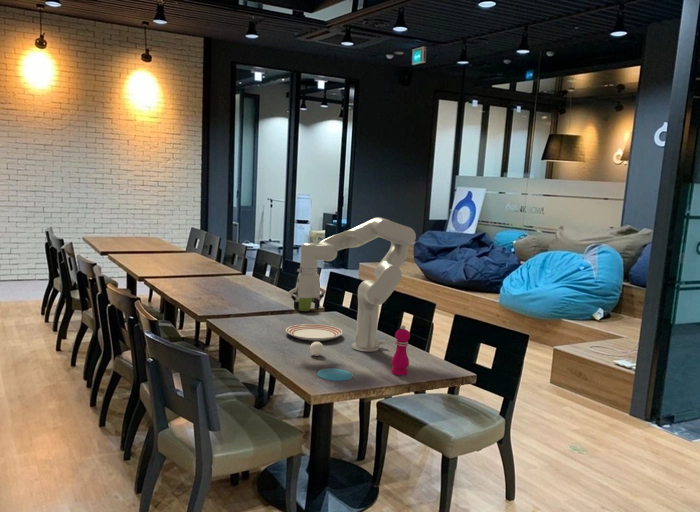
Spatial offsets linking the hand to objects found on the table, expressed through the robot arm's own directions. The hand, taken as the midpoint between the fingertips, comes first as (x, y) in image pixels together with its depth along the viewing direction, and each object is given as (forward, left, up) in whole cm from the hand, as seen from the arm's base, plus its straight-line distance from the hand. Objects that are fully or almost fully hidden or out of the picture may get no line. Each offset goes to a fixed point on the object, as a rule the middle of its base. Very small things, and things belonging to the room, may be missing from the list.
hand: (306, 309), depth 266 cm
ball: (-3, +9, -15) cm, 18 cm away
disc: (-3, +34, -18) cm, 39 cm away
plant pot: (-21, -74, -18) cm, 79 cm away
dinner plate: (-11, -21, -19) cm, 30 cm away
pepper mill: (-30, +36, -18) cm, 50 cm away
